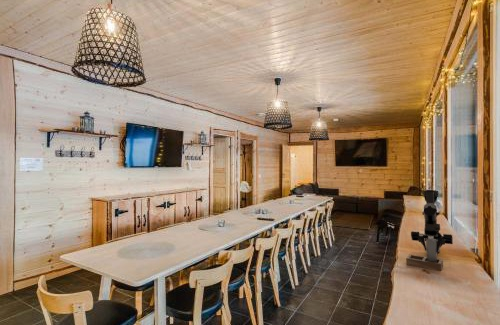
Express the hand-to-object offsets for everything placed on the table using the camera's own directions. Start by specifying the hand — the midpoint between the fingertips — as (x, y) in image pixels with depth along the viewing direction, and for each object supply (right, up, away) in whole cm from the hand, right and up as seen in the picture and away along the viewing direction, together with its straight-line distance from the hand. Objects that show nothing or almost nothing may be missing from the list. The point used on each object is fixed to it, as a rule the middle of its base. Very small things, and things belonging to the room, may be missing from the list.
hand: (431, 251), depth 143 cm
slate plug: (+1, -7, +1) cm, 7 cm away
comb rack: (-2, -9, +3) cm, 9 cm away
